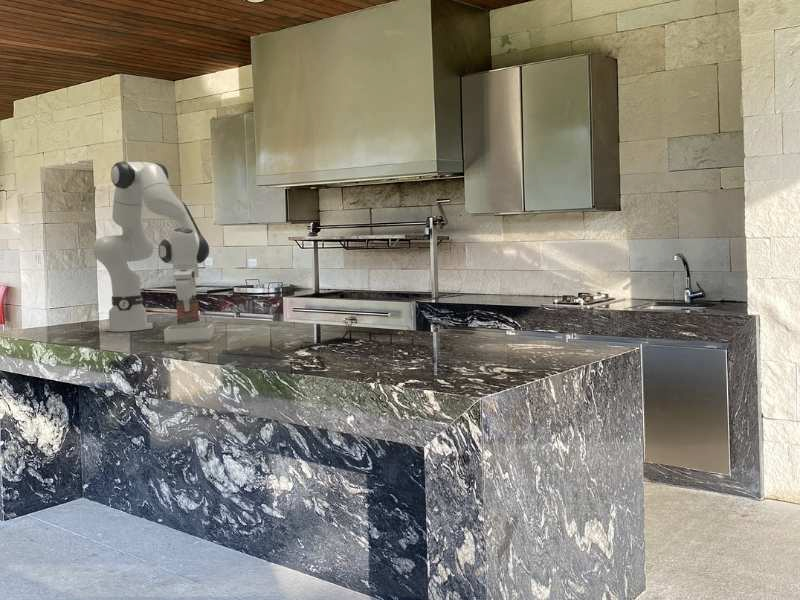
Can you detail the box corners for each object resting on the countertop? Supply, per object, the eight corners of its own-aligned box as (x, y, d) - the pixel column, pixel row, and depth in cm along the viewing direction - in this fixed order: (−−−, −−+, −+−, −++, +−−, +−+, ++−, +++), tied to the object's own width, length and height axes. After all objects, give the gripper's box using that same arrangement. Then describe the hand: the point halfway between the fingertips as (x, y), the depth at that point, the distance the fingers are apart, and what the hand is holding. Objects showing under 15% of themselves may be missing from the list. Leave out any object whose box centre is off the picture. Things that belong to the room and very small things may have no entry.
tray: (170, 339, 318) (169, 325, 317) (214, 337, 319) (213, 323, 319) (164, 343, 306) (163, 329, 305) (209, 341, 307) (209, 327, 307)
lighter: (200, 321, 311) (198, 294, 313) (198, 319, 308) (196, 292, 310) (178, 323, 311) (177, 297, 313) (176, 322, 308) (174, 295, 310)
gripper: (182, 271, 320) (184, 308, 322) (172, 275, 300) (174, 314, 301) (199, 271, 321) (201, 307, 322) (190, 274, 301) (192, 313, 302)
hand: (188, 310), depth 312 cm, fingers closed on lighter, 2 cm apart
